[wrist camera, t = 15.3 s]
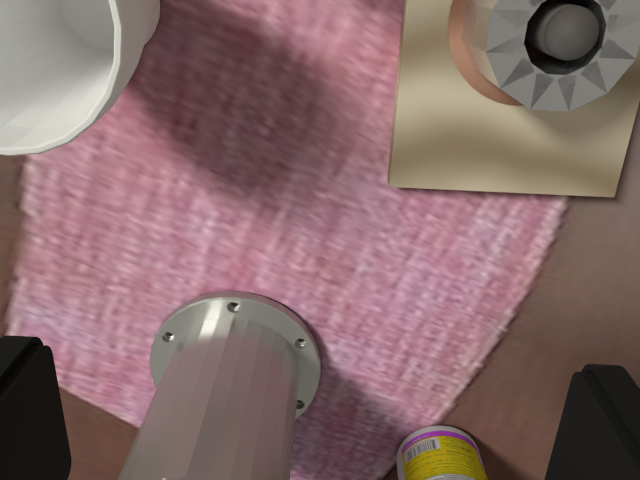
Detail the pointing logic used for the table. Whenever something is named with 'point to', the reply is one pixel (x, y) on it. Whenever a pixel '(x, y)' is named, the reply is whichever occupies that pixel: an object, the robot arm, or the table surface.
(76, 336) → the table surface
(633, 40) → the steel collar
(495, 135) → the hub board
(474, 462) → the supplement bottle
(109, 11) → the cup
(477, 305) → the table surface
